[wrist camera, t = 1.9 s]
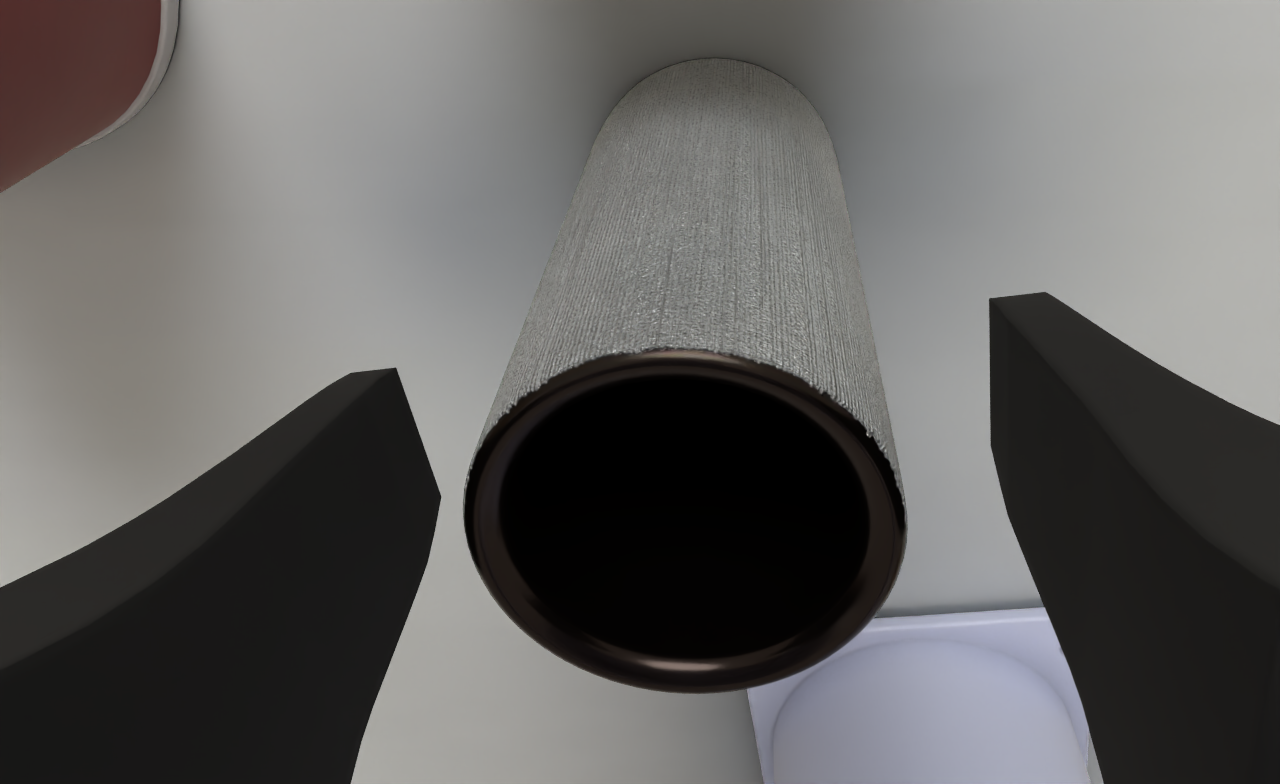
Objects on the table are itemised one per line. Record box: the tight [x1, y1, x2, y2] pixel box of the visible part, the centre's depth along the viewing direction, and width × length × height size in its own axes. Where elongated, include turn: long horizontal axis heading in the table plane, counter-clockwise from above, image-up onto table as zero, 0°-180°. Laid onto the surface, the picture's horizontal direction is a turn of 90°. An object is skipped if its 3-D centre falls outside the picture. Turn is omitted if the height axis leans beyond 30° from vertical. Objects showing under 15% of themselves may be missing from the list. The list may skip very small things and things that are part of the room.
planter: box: [463, 58, 908, 694], centre depth 15 cm, size 4×4×10 cm
